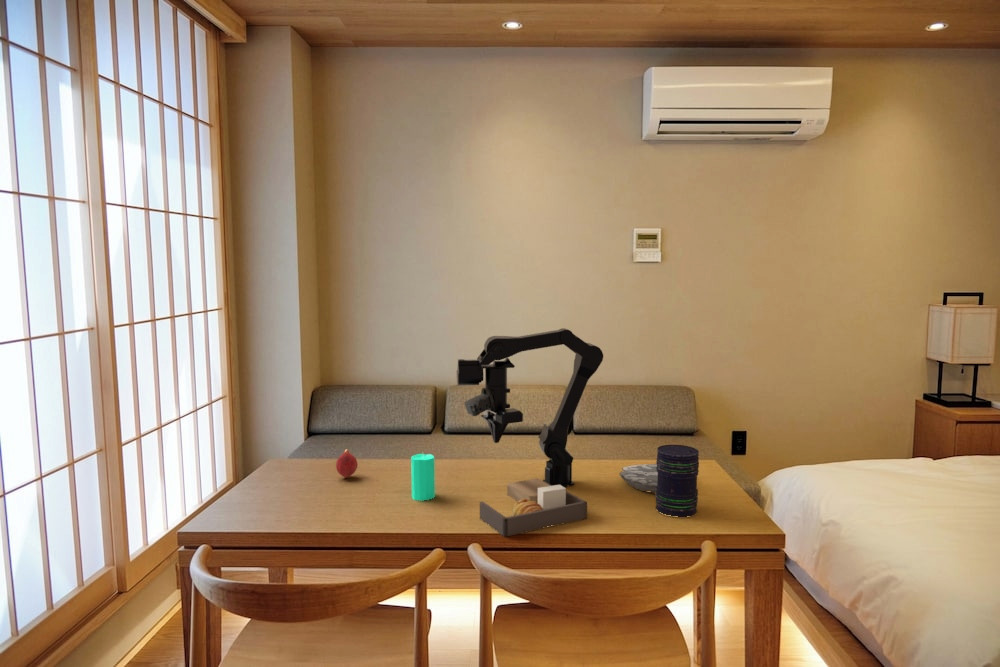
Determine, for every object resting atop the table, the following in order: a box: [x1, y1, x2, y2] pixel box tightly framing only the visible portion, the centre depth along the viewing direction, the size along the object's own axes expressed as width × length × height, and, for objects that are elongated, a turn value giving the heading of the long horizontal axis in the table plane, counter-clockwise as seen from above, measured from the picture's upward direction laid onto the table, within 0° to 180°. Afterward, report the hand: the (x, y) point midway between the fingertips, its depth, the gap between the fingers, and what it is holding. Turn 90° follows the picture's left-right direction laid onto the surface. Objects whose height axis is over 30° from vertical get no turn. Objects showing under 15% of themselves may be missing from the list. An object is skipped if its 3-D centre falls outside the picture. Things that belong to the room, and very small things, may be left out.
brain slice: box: [619, 463, 658, 494], centre depth 183 cm, size 20×17×3 cm
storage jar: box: [655, 444, 700, 517], centre depth 163 cm, size 10×10×15 cm
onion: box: [335, 449, 358, 479], centre depth 187 cm, size 6×6×8 cm
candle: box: [410, 453, 436, 502], centre depth 172 cm, size 6×6×12 cm
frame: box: [479, 490, 588, 538], centre depth 158 cm, size 22×12×4 cm, turn 118°
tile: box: [538, 485, 567, 509], centre depth 162 cm, size 6×6×3 cm
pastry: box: [511, 499, 544, 516], centre depth 158 cm, size 9×7×4 cm
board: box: [506, 477, 551, 503], centre depth 172 cm, size 9×11×3 cm
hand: (496, 442), depth 180 cm, fingers closed
